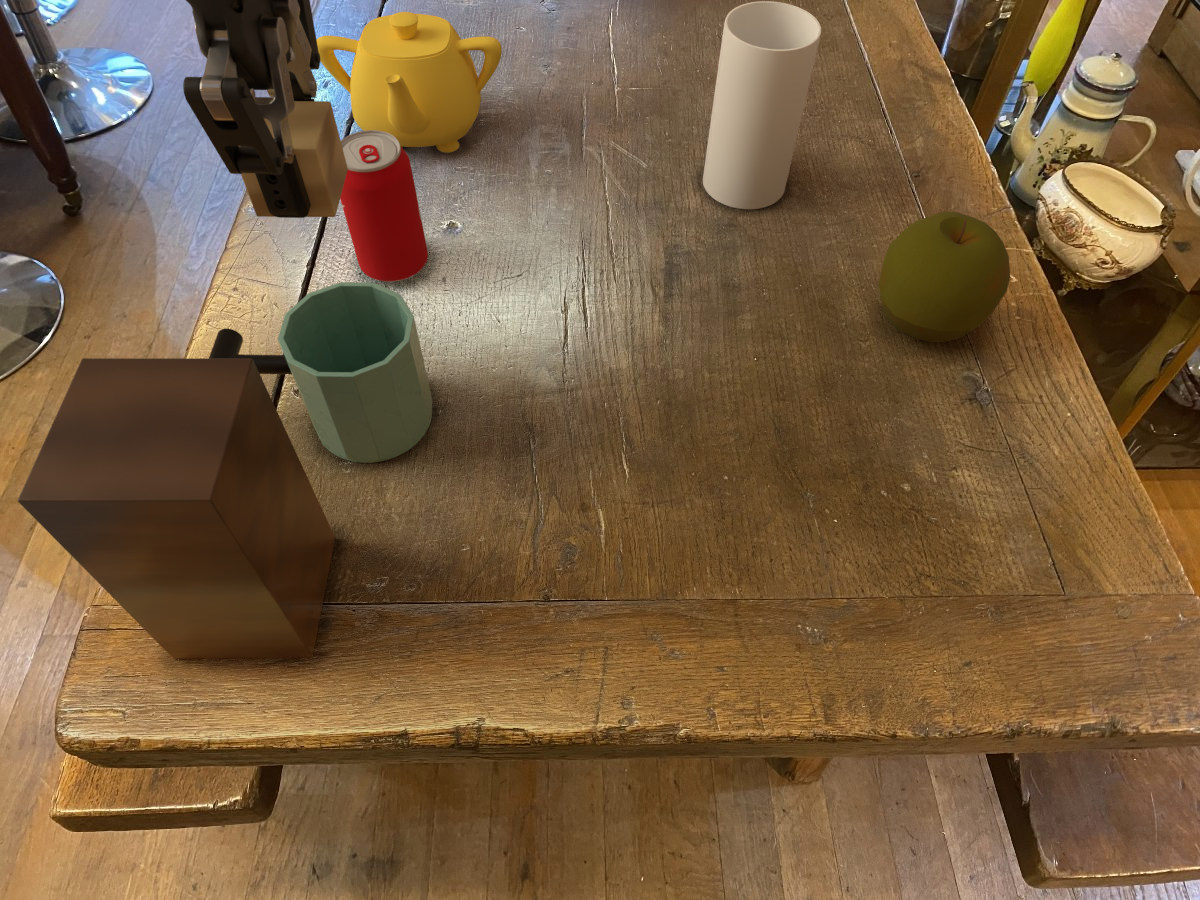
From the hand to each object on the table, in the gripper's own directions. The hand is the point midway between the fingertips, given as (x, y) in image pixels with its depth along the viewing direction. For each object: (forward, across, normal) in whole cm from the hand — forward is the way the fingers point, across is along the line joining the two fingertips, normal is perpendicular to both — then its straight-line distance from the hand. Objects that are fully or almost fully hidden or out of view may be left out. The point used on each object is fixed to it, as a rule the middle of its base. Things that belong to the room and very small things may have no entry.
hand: (300, 184), depth 50 cm
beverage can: (+22, -18, -1) cm, 28 cm away
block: (+1, 0, 0) cm, 1 cm away
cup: (+22, -30, +32) cm, 49 cm away
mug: (+22, 0, -3) cm, 22 cm away
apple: (+22, -11, +46) cm, 52 cm away
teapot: (+22, -36, -1) cm, 43 cm away
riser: (+22, +16, -5) cm, 27 cm away
